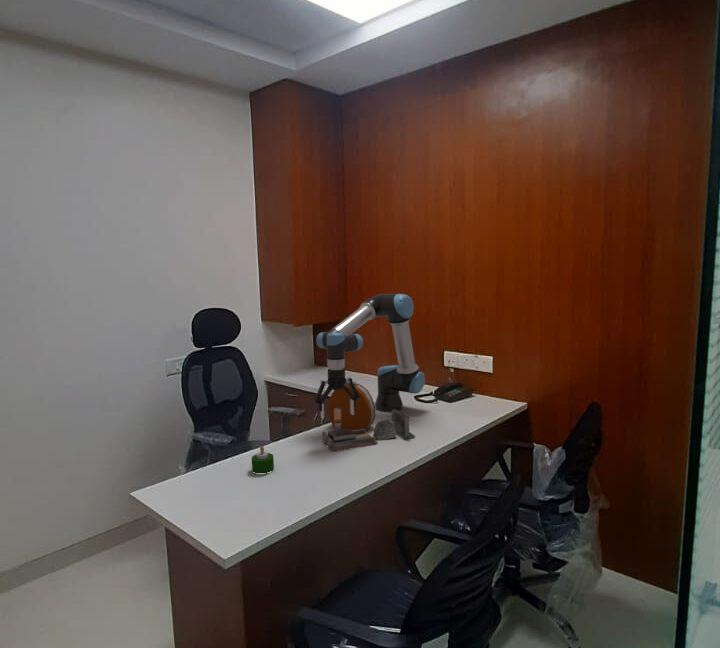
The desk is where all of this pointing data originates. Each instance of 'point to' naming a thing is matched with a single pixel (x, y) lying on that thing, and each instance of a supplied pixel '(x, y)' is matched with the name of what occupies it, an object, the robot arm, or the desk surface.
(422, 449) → the desk surface
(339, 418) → the ram
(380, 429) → the stone
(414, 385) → the robot arm
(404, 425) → the angle bracket
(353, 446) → the brown shallow box
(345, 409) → the alarm clock
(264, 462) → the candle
